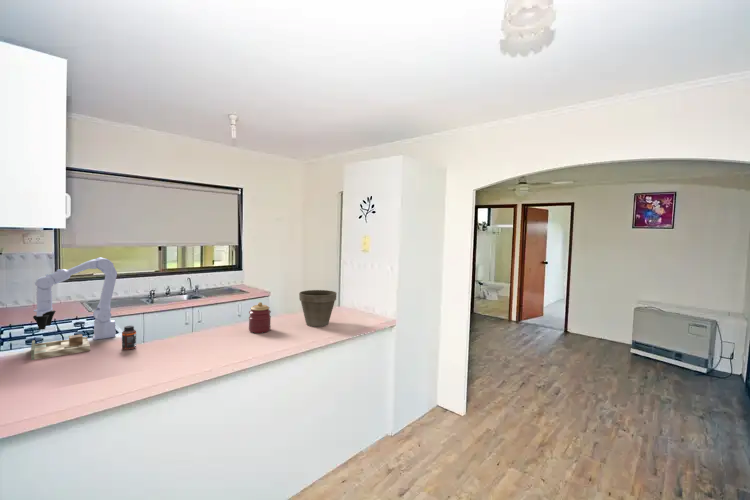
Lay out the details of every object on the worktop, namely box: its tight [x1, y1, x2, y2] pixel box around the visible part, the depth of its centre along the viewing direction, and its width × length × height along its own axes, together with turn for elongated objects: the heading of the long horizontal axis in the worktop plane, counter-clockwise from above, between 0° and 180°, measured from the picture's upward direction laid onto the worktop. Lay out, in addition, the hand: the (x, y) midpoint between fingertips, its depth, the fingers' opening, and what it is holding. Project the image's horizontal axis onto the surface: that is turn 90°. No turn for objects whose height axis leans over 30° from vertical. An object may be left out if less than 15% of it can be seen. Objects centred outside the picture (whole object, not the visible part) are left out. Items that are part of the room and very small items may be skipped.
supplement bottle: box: [121, 325, 137, 351], centre depth 181 cm, size 6×6×11 cm
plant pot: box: [298, 289, 337, 328], centre depth 239 cm, size 25×25×22 cm
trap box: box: [30, 336, 91, 361], centre depth 175 cm, size 21×18×4 cm
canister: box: [248, 301, 272, 334], centre depth 219 cm, size 13×13×18 cm
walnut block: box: [68, 333, 84, 346], centre depth 179 cm, size 5×5×4 cm
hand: (45, 327), depth 179 cm, fingers open, 7 cm apart
